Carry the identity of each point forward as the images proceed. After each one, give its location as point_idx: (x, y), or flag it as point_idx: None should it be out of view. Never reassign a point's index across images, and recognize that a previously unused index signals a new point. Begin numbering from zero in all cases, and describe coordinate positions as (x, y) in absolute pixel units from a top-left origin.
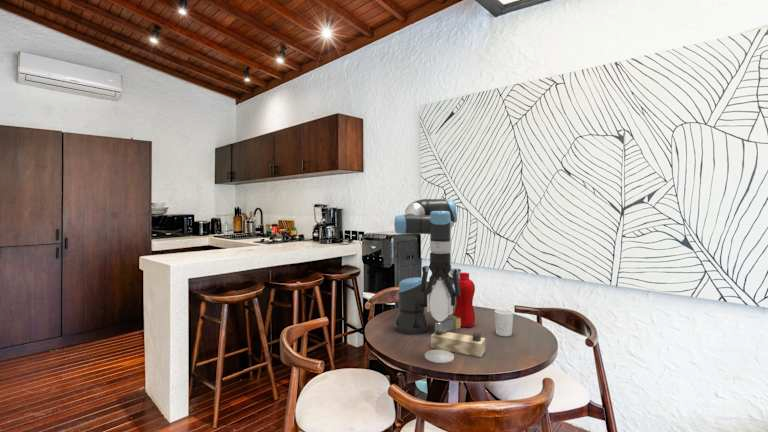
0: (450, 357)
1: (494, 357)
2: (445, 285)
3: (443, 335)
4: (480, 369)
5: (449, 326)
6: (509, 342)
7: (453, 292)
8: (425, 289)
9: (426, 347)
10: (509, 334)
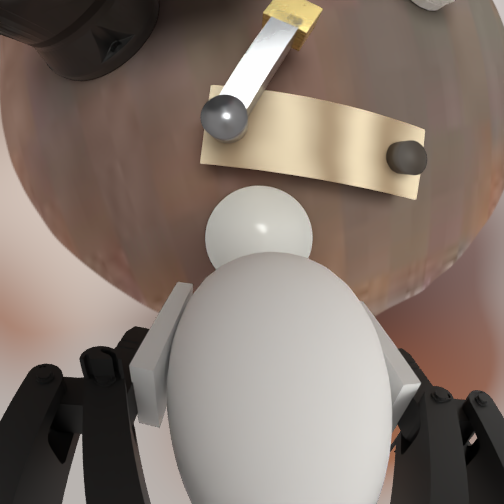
0: (300, 245)
1: (427, 183)
2: (378, 498)
3: (256, 143)
4: (390, 284)
5: (273, 71)
6: (449, 55)
7: (439, 422)
8: (79, 418)
9: (191, 168)
10: (440, 7)
